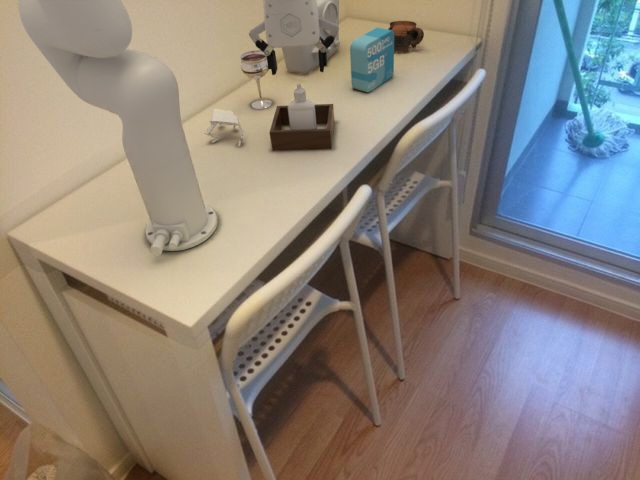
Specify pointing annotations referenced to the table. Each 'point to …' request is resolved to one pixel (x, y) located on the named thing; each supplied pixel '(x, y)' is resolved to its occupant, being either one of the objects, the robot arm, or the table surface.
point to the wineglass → (255, 72)
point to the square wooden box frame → (302, 131)
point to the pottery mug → (405, 35)
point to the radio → (307, 56)
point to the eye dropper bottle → (301, 111)
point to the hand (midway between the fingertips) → (298, 70)
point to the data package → (372, 59)
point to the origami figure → (224, 122)
